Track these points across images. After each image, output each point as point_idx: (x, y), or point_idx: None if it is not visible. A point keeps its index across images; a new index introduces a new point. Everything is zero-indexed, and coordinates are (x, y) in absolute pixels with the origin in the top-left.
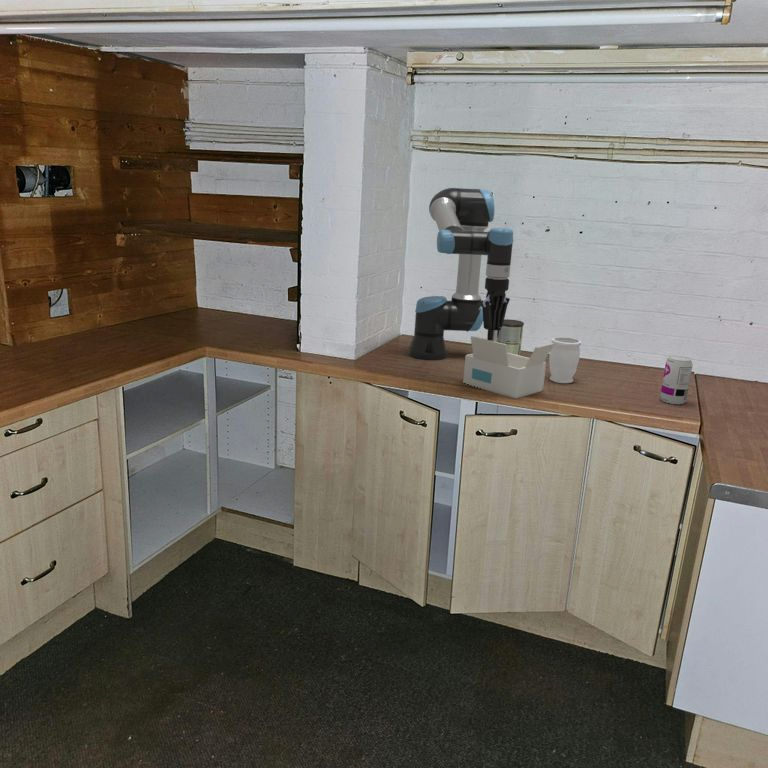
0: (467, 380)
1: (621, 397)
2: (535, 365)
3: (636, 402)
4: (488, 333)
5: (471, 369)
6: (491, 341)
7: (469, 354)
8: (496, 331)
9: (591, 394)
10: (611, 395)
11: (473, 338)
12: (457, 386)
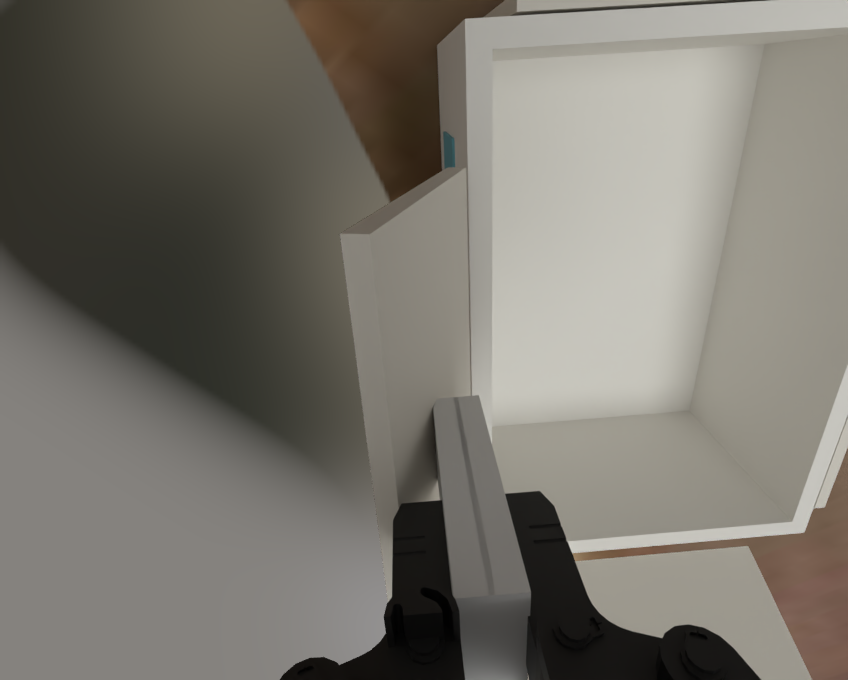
0: (441, 87)
1: (833, 604)
2: (648, 559)
3: (801, 649)
4: (393, 593)
5: (451, 124)
6: (386, 560)
7: (550, 5)
8: (496, 674)
9: (795, 540)
10: (837, 578)
11: (355, 284)
12: (341, 79)
